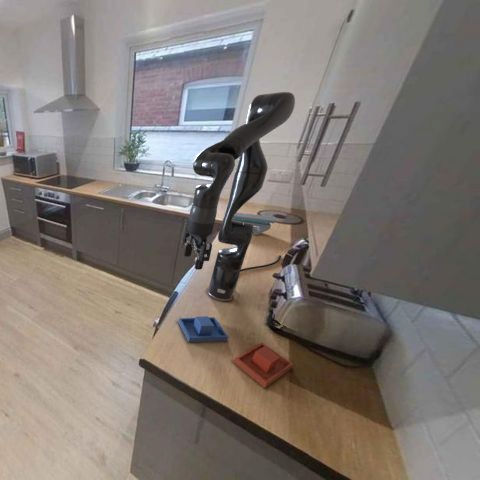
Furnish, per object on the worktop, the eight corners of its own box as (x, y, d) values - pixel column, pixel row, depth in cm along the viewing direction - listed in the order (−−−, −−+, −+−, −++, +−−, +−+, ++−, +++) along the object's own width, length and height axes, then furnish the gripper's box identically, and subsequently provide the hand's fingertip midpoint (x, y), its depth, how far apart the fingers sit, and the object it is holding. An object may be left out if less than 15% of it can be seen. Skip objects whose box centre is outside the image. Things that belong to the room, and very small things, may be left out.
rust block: (259, 356, 80) (264, 346, 78) (275, 367, 76) (280, 357, 74) (251, 361, 78) (255, 351, 76) (266, 373, 74) (271, 363, 72)
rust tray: (259, 346, 84) (261, 342, 83) (290, 369, 76) (293, 364, 75) (233, 362, 78) (235, 357, 78) (264, 388, 71) (266, 383, 70)
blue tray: (213, 321, 94) (214, 317, 93) (226, 341, 86) (228, 336, 85) (178, 322, 94) (179, 318, 93) (188, 342, 86) (189, 337, 85)
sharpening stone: (267, 232, 165) (272, 216, 160) (269, 237, 158) (274, 221, 154) (224, 226, 175) (227, 211, 170) (224, 230, 168) (228, 215, 164)
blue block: (205, 325, 92) (207, 316, 90) (211, 335, 87) (214, 325, 86) (193, 326, 91) (195, 316, 89) (198, 335, 87) (201, 326, 85)
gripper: (226, 227, 74) (213, 273, 81) (202, 210, 86) (193, 251, 94) (200, 227, 73) (190, 274, 81) (181, 210, 86) (173, 252, 93)
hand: (192, 262), depth 87 cm, fingers open, 8 cm apart
